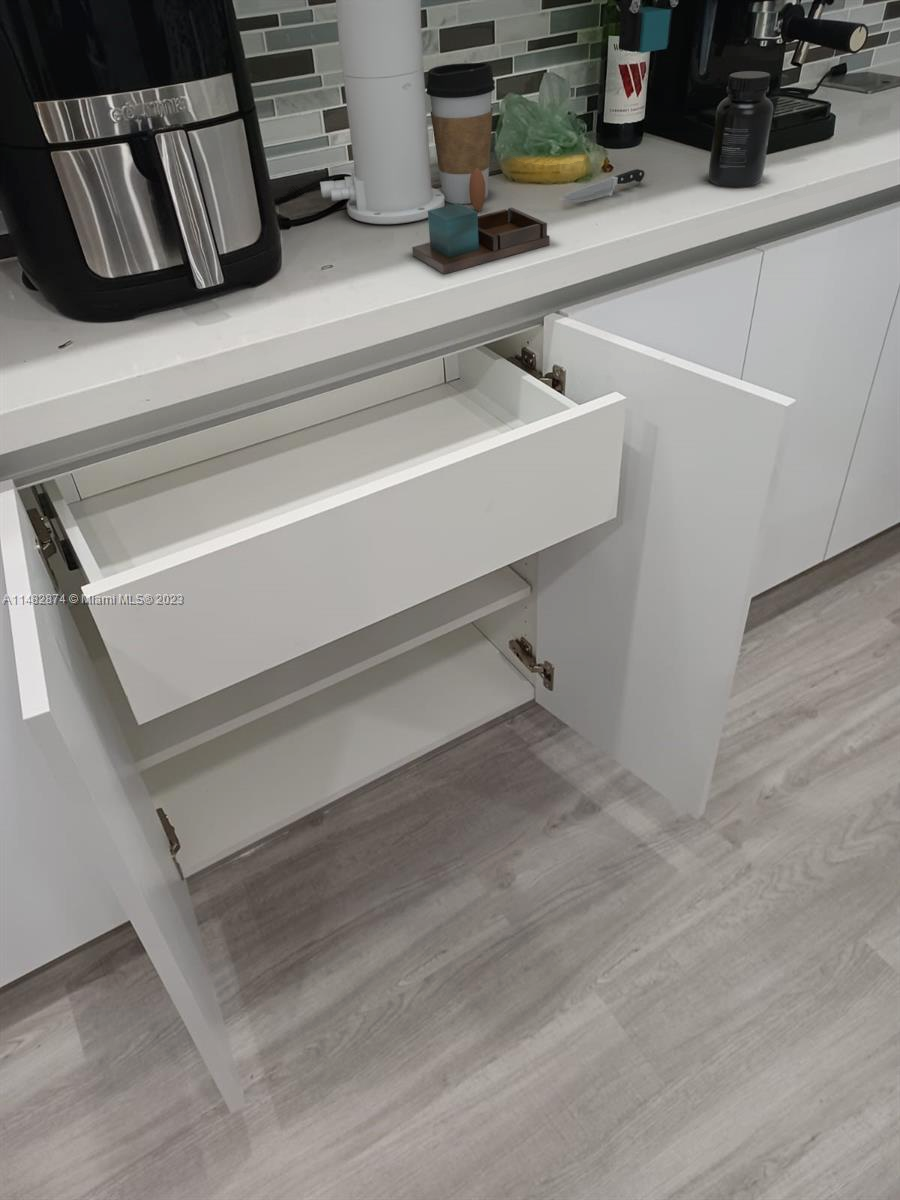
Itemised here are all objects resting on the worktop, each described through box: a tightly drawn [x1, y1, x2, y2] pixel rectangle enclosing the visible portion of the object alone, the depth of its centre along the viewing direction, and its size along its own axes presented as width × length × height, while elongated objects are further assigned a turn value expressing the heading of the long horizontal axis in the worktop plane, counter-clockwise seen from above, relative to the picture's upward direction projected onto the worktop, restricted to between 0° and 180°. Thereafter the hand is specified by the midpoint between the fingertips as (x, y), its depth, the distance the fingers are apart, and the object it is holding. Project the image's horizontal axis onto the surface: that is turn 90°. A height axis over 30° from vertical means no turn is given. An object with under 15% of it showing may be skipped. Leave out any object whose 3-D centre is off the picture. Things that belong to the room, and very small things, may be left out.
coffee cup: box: [425, 62, 496, 205], centre depth 109 cm, size 8×8×15 cm
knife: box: [559, 168, 645, 203], centre depth 110 cm, size 15×1×2 cm, turn 128°
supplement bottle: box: [707, 70, 774, 188], centre depth 109 cm, size 7×7×12 cm
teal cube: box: [636, 6, 671, 54], centre depth 106 cm, size 4×4×4 cm
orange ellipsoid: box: [469, 168, 486, 212], centre depth 108 cm, size 2×2×5 cm
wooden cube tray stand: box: [411, 203, 551, 275], centre depth 98 cm, size 14×7×5 cm, turn 120°
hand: (643, 45), depth 107 cm, fingers closed on teal cube, 4 cm apart
